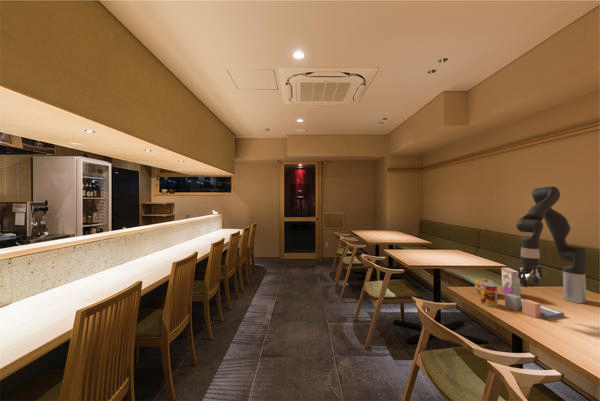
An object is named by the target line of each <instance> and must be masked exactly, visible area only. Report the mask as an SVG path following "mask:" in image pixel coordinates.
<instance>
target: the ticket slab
mask: <svg viewBox="0 0 600 401" xmlns="http://www.w3.org/2000/svg"><path fill="white" fill-rule="evenodd" d="M522 300H526V299H524V298H522V297H521V304H522ZM563 317H565V312H564V311H560V310H557V309H554V308H552V307H548V306H545V305H542V304H541V317H540V318H542V319H545V320H548V321H549V320H552V319H559V318H563Z"/></svg>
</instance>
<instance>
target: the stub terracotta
mask: <svg viewBox="0 0 600 401" xmlns="http://www.w3.org/2000/svg"><path fill="white" fill-rule="evenodd" d="M541 305H542V304H541V303H539V302H537V301H533V300H531V299H530V300H529V299H525V300H522V310H521V311H522V312H521V313H522V314H524V315H527V316H530V317H532V318H535V319H537V318H542V317H541Z"/></svg>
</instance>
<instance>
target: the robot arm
mask: <svg viewBox="0 0 600 401" xmlns="http://www.w3.org/2000/svg"><path fill="white" fill-rule="evenodd" d="M531 195H532V199H533V201H534V202H535V204H534V205H532V207H531V206H530V208H529V210H527V212H526V214H525V215H523V216H521V218H519V219H518V220H517V222H516V224H515V225H516V226H515V227H516V229H517V230H518V231H519V232H521V233H532V235H529V236H522V237H521V238H520V244H521V245H520V246H521V248H520V264H521V265H523V267H520V266H519V267H518V271H517V272H518V278H520V280H521V287H523V288H528V287H529V283H528V279H530V278H531V277H533V283H532V284H533V285H534V286H537V287H538V286H540V279H541V278H543V267H542V266H541V253H540V238H541V234H542V232H543V230H544V224H543V220H544V221H545V224H546V226H547V228H548V231H549V232H550V236H551V237H552V239H553V241H554V244H555V247H556V250H557V254H558V256H559V257H560V259H562V260H564V261H570V262H573V264H571V265H565V266H562V288H563V290H562V291H563V293H562V294H563V295H562V297H563V300H566V301H567V302H571V303H576V304H587V285H586V283H587V282H586V281H587V280H586V270H587V262H588V261H587V259H588V254H587V250H586V249H585V248H584V247H580V246H573V245H570V244H569V245H568V243H567V241H566V239H567V237H568V235H569V234H570V231H571V225H570V223H569V221H568V219H567V217H566V216H564V215H563V214H562V213H560V212H558V210H557V211H556V210H555V209H554V208H553V206H554V205H555V204H556V203H557V202H559V200H560V199H561V192H560V190H559V188H558V187H556V186H544V187H537V188H533V189H532V191H531Z"/></svg>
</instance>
